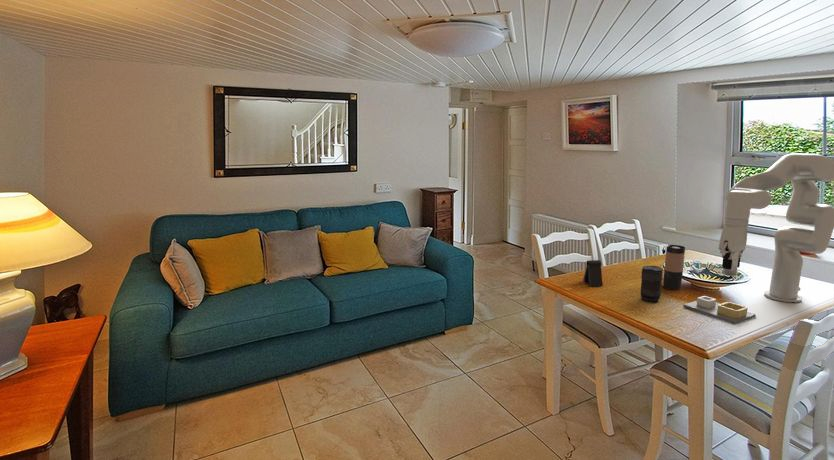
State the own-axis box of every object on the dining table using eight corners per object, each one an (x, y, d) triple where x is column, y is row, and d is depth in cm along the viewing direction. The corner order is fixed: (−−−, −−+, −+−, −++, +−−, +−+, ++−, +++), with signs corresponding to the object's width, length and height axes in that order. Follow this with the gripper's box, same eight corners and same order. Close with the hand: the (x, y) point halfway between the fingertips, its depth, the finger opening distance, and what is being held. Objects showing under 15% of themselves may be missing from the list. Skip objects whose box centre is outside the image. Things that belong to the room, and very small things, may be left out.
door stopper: (582, 281, 220) (584, 258, 217) (594, 280, 220) (595, 257, 217) (590, 287, 211) (592, 263, 208) (602, 286, 211) (604, 262, 209)
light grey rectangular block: (727, 271, 176) (730, 247, 174) (738, 274, 173) (742, 250, 170) (720, 273, 175) (723, 249, 173) (732, 276, 171) (735, 251, 169)
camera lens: (641, 295, 198) (644, 264, 195) (661, 299, 193) (664, 267, 190) (637, 301, 192) (640, 268, 189) (657, 305, 187) (661, 271, 184)
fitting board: (703, 301, 190) (704, 292, 189) (755, 317, 172) (756, 307, 171) (683, 307, 184) (684, 297, 183) (734, 324, 166) (736, 314, 165)
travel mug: (683, 290, 203) (688, 248, 199) (665, 289, 205) (669, 248, 201) (677, 285, 211) (681, 244, 207) (660, 284, 212) (664, 244, 208)
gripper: (739, 219, 176) (733, 262, 180) (712, 223, 169) (707, 268, 173) (759, 221, 169) (753, 267, 173) (733, 226, 163) (727, 273, 166)
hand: (730, 267), depth 173 cm, fingers closed on light grey rectangular block, 4 cm apart
